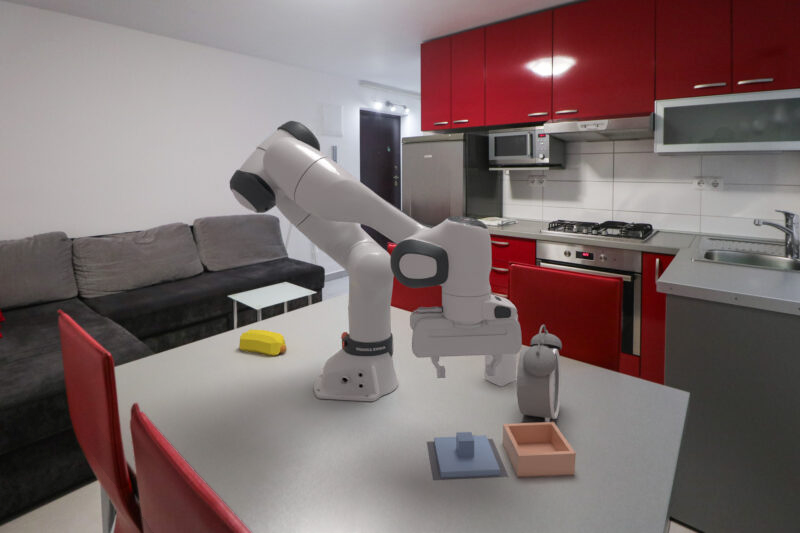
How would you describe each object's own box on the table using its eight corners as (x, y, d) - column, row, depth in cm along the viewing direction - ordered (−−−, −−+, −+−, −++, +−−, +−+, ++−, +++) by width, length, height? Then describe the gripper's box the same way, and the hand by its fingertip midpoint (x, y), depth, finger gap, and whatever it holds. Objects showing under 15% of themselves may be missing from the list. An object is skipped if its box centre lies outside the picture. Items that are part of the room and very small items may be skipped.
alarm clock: (553, 439, 95) (558, 342, 90) (512, 430, 99) (515, 336, 94) (561, 403, 109) (566, 318, 105) (525, 396, 113) (529, 313, 109)
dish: (517, 479, 83) (518, 455, 82) (502, 445, 93) (503, 424, 92) (574, 477, 83) (575, 453, 82) (552, 443, 94) (553, 421, 93)
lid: (440, 477, 83) (440, 455, 82) (433, 442, 94) (433, 422, 93) (499, 475, 83) (500, 452, 82) (486, 440, 94) (486, 420, 93)
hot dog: (249, 343, 153) (233, 352, 146) (247, 325, 152) (231, 332, 145) (293, 350, 146) (278, 359, 139) (291, 331, 145) (276, 339, 138)
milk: (501, 387, 118) (503, 307, 114) (483, 379, 123) (485, 302, 118) (515, 380, 122) (518, 303, 117) (498, 372, 127) (500, 298, 122)
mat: (433, 482, 82) (433, 479, 82) (426, 444, 94) (426, 441, 94) (508, 479, 83) (508, 476, 83) (492, 441, 95) (492, 438, 95)
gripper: (410, 313, 78) (412, 385, 81) (526, 309, 79) (523, 381, 82) (408, 302, 85) (410, 370, 88) (515, 299, 85) (513, 366, 88)
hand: (465, 375), depth 85 cm, fingers open, 8 cm apart
